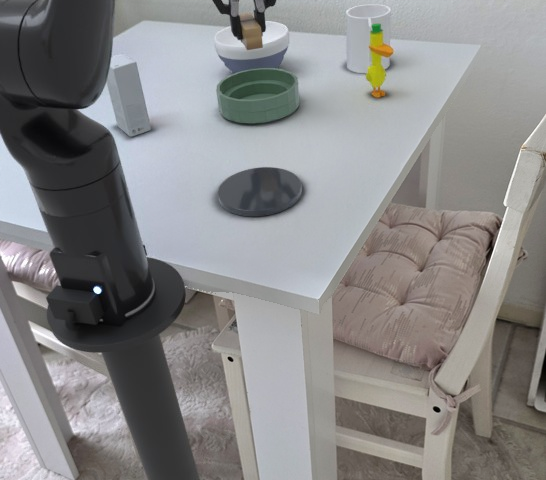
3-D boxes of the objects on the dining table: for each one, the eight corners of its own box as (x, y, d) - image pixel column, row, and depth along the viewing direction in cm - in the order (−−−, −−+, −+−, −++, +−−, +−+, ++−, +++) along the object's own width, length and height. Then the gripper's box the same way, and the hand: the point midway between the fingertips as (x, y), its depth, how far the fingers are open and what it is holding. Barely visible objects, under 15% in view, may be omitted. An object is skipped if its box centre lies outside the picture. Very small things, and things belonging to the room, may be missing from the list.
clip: (263, 47, 105) (261, 26, 103) (246, 50, 105) (244, 29, 103) (253, 32, 111) (251, 12, 109) (236, 35, 111) (234, 15, 109)
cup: (348, 82, 122) (346, 27, 116) (346, 58, 132) (345, 6, 125) (392, 79, 122) (394, 23, 115) (388, 55, 131) (389, 2, 124)
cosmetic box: (152, 130, 115) (137, 61, 107) (130, 138, 113) (112, 68, 105) (138, 119, 119) (123, 52, 111) (116, 126, 117) (99, 59, 109)
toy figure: (398, 98, 115) (400, 27, 107) (382, 104, 114) (383, 33, 106) (375, 86, 120) (375, 18, 112) (359, 92, 119) (358, 23, 111)
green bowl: (287, 127, 110) (284, 102, 107) (208, 124, 114) (204, 99, 111) (308, 92, 120) (306, 68, 118) (235, 90, 124) (232, 67, 122)
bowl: (307, 66, 131) (304, 26, 126) (258, 92, 123) (254, 51, 118) (252, 54, 138) (248, 16, 134) (203, 78, 130) (197, 39, 126)
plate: (288, 220, 89) (288, 213, 88) (206, 213, 92) (205, 206, 92) (310, 175, 97) (310, 169, 97) (234, 170, 101) (233, 164, 100)
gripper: (192, -73, 93) (211, 51, 104) (289, -87, 94) (296, 36, 105) (185, -82, 99) (203, 37, 109) (276, -95, 100) (285, 23, 111)
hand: (249, 36), depth 107 cm, fingers closed on clip, 2 cm apart
